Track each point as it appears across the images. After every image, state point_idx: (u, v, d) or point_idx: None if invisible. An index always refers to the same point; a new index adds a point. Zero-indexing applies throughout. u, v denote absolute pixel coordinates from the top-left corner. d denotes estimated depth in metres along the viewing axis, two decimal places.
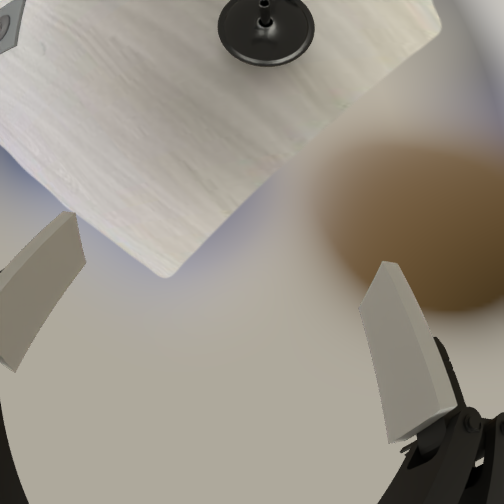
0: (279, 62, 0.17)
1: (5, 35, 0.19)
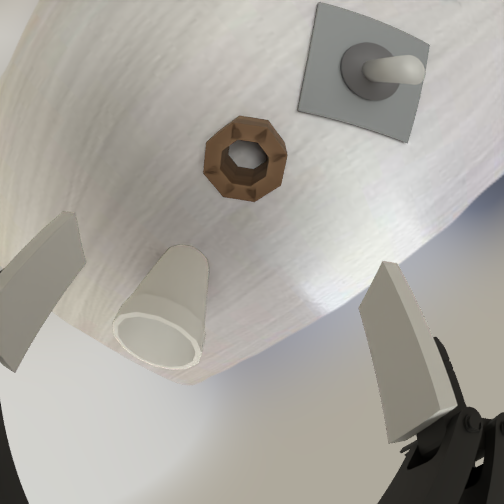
0: None
1: None
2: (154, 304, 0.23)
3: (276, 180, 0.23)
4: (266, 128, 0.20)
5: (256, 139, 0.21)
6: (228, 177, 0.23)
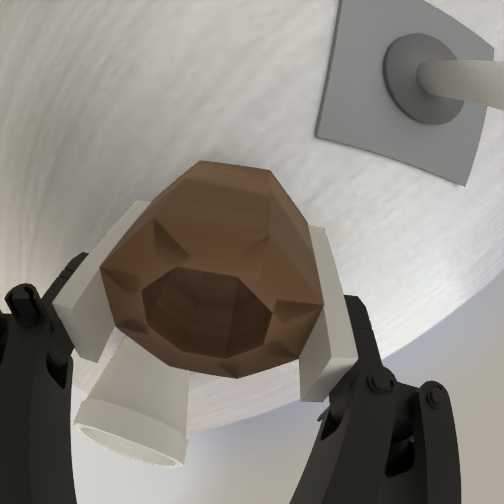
0: None
1: None
2: (116, 419, 0.14)
3: (288, 352, 0.09)
4: (264, 237, 0.06)
5: (233, 267, 0.07)
6: (173, 334, 0.10)
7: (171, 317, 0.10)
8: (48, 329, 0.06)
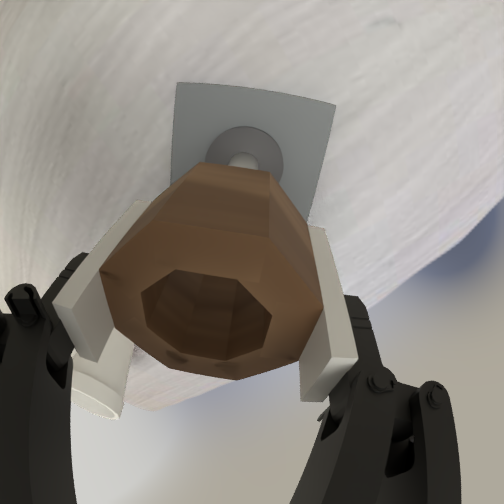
0: None
1: (280, 142, 0.20)
2: (77, 380, 0.24)
3: (288, 354, 0.09)
4: (264, 240, 0.06)
5: (232, 270, 0.07)
6: (173, 336, 0.09)
7: (171, 319, 0.10)
8: (48, 329, 0.06)
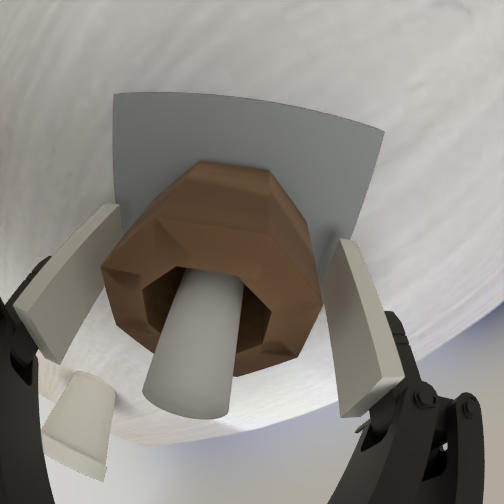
0: None
1: (288, 194, 0.12)
2: (52, 448, 0.16)
3: (287, 350, 0.09)
4: (264, 237, 0.07)
5: (232, 267, 0.07)
6: None
7: None
8: (10, 328, 0.05)
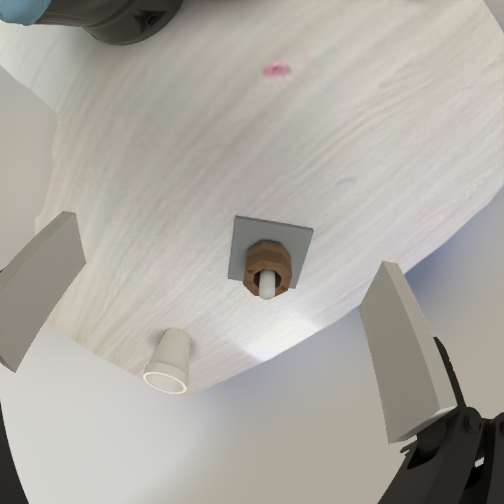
0: None
1: (285, 248, 0.43)
2: (163, 368, 0.48)
3: (285, 288, 0.41)
4: (280, 263, 0.38)
5: (274, 268, 0.39)
6: (257, 285, 0.41)
7: (256, 281, 0.42)
8: None
